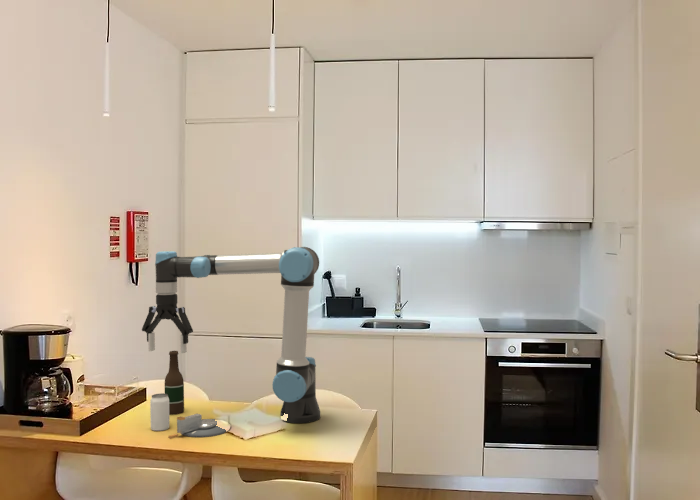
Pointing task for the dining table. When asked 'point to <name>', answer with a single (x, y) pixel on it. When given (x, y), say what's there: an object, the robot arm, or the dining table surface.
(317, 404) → the robot arm
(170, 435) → the small orange block
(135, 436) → the dining table surface
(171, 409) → the beer bottle
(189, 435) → the dial plate
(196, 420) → the dial
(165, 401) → the can
